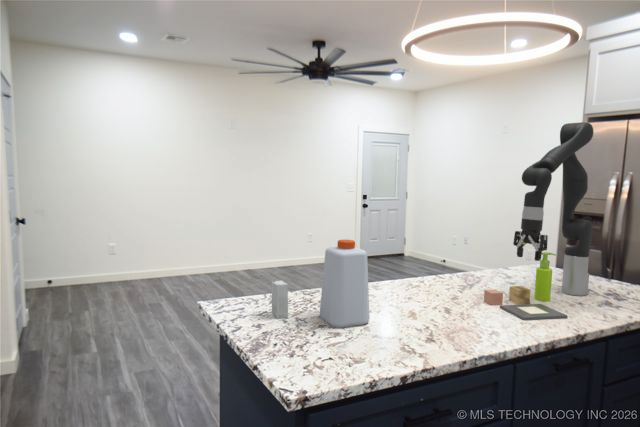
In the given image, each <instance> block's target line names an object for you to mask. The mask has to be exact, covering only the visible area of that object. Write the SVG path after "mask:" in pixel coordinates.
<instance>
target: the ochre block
mask: <svg viewBox="0 0 640 427" xmlns="http://www.w3.org/2000/svg"><path fill="white" fill-rule="evenodd" d="M531 292H532V291H531V289H530V288H527V287H525V286H523V285H519V286H516V285H515V286H514V285H512V286H511V285H510V286H509V293H508V294H509V296H508V297H509V298H508V301H509V302H511V301H512V303H513V302H514V303H513V304H515V305H522V304H531V294H532V293H531Z"/></svg>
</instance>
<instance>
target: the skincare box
mask: <svg viewBox="0 0 640 427" xmlns="http://www.w3.org/2000/svg"><path fill="white" fill-rule="evenodd" d="M270 286H271V314H272V315H273V316H274V317H275V318H276V319H278V320H279V319H280V320H281V319H286V318H288V317H289V291H288V290H289V289H288V288H289V287H288V283H286V282H284V280H281V279H280V280H274V281H271V285H270Z"/></svg>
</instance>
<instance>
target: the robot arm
mask: <svg viewBox="0 0 640 427" xmlns="http://www.w3.org/2000/svg"><path fill="white" fill-rule="evenodd" d="M593 138H594V127H593V124H591V123H590V122H586V121H585V122H583V121H582V122H570V123H565V124H563V125H562V126H561V127H560V131H559V141H560V142H559V143H560V144H559V145H557V146H555V147H553V148H552V149H550V150H548V151H547V152H546V153H545V154H544V155H543V156H542V158H540V160H538V161H536V162H534V163H533V164H531V165H530V166H528V167H526V169H524V171H523V172H522V175H521V181H522V183H523V184H524V185H526V186H529V187H535V188H534V190H532V191H528V192H526V193H525V195H524V199H523V200H524V201H523V207H522V208H523V209H522V214H521V223H520V229H521V231H520V230H516V231H514V237H513V243H512V244H513V246H516V248H517V249H516V256H517V257H518V258H522V257H523V255H524V247H525V245H527V244H529V245H532V247H534V249H535V252H534V261H536V262H539V261H540V260H542V256H543V255H542V253H543V252H544V251H548V238H549V237H548V235H547V234H541V232H542V230H543V223H544V214H545V212H544V206H545V197H546V195H547V193H548V189H549V188H550V185H551V183H552V178H553V177H552V176H553V175H552V173H554V172H556V171H557V169H558V168H560V166H561V165H562V194H563V197H562V198H563V201H562V202H563V205H562V206H563V207H562V208H563V209H562V221H561V222H562V224H561V232H562V236H563V238H565V239H567V240H573V241H574V240H575V241H578V244H576V245H572V246H568V247H566V248H564V255H563V257H564V258H563V268H562V280H561V283H562V284H561V292H562V293H563V294H566V295H571V296H578V297H579V296H581V297H583V296H586V295H588V293H589V282H590V272H588V271H589V270H588V269H589V258H590V257H589V256H590V251H591V244H592V237H593V231H594V229H593V223H592V221H591V220H587V219H578V218H577V219H576V218H575V210H576V208H577V207H578V205H579V204H580V202H581V201H582V199H584V197H585V195H586V194H587V192H588V187H589V186H588V184H589V182H588V181H589V180H588V172H587V171H586V169H585V168H584V166H583V165H582V163H581V162H580V160H579V159H578V157H577V155H576V152H578V151H579V150H580V149H583V147H584V146H586V145H587V144H589V143H590V142H591V141H592V140H593Z"/></svg>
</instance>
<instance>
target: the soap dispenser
mask: <svg viewBox="0 0 640 427" xmlns="http://www.w3.org/2000/svg"><path fill="white" fill-rule="evenodd" d="M548 255H549V256H557V254H556V253H553V252H544V251H543V252H542V255H541V256H542V258H541V260H540V262H539V263H540V264H539V267H536V268H535V270H536V271H535V283H534V284H535V285H534V298H535V299H534V298H533V299H534V300H535V301H539V302H550V301H551V295H552V294H551V293H552V281H553V280H552V278H553V269H552V268H550V260H548V257H549V256H548Z"/></svg>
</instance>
